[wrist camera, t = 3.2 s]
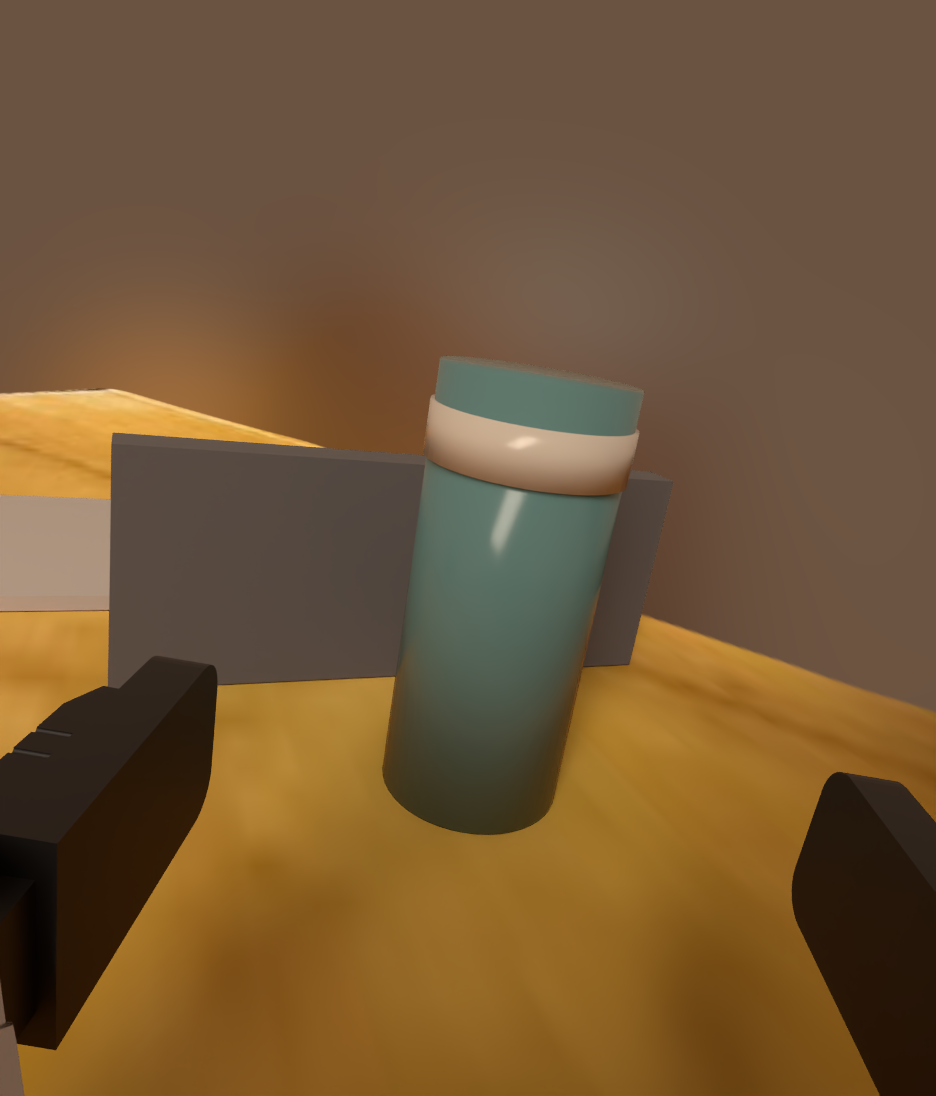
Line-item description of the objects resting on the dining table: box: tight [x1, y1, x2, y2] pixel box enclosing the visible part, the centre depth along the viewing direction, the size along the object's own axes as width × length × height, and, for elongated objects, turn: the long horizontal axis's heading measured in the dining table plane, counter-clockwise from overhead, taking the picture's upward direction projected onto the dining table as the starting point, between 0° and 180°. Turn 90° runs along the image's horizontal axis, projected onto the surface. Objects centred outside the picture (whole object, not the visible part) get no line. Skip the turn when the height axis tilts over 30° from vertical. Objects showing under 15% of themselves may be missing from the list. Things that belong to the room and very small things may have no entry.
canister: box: [382, 356, 644, 835], centre depth 21 cm, size 5×5×12 cm
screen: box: [108, 433, 673, 689], centre depth 28 cm, size 20×2×8 cm, turn 112°
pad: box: [0, 495, 111, 611], centre depth 34 cm, size 13×13×1 cm
